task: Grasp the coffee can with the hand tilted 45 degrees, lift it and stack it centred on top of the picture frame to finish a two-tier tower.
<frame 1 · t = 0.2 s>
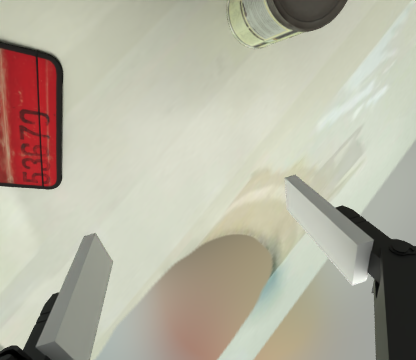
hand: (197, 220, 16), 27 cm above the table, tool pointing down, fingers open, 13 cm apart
coffee can: (256, 12, 36), on the table
binder: (5, 119, 35), on the table
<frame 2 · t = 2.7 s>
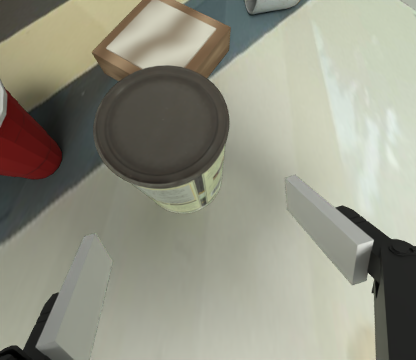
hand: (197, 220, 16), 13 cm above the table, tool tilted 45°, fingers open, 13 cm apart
coffee can: (183, 176, 31), on the table
plastic cup: (41, 160, 32), on the table
picture frame: (167, 61, 36), on the table
ceramic mug: (264, 1, 40), on the table
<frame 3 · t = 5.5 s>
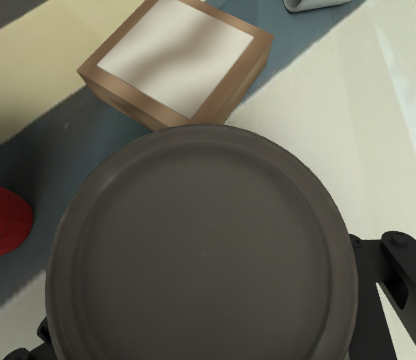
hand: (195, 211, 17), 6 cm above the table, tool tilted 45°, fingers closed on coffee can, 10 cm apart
coffee can: (208, 252, 21), on the table, touching gripper
plastic cup: (3, 225, 22), on the table
picture frame: (181, 81, 26), on the table
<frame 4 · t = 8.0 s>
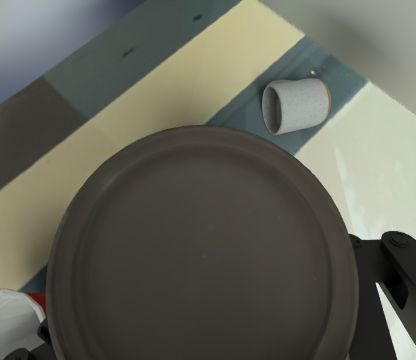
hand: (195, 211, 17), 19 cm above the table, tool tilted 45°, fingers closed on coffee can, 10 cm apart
coffee can: (208, 253, 21), point 13 cm above the table, touching gripper
plastic cup: (70, 315, 32), on the table
ceramic mug: (282, 113, 40), on the table
when the fingers open (11 cm above the table, at t = 11.0 s): coffee can drops 1 cm, resting on picture frame.
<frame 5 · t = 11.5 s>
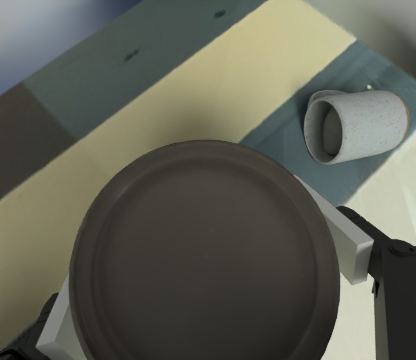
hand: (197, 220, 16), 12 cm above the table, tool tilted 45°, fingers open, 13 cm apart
coffee can: (209, 253, 22), point 4 cm above the table, touching picture frame
ceramic mug: (329, 133, 31), on the table
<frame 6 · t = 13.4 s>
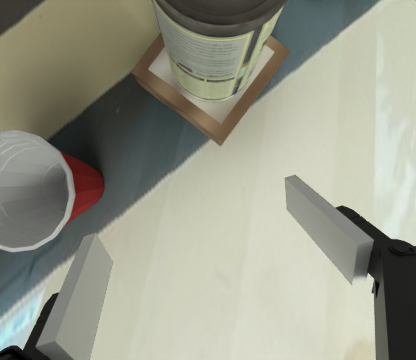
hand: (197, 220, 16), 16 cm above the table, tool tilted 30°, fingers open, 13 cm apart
coffee can: (211, 62, 28), point 4 cm above the table, touching picture frame
plastic cup: (83, 186, 32), on the table
picture frame: (210, 75, 32), on the table
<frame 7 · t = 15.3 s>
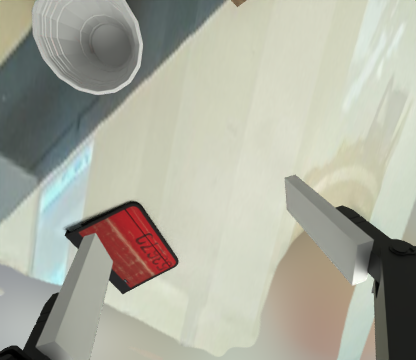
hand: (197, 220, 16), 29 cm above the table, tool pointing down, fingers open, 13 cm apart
plastic cup: (110, 46, 34), on the table
binder: (129, 245, 52), on the table
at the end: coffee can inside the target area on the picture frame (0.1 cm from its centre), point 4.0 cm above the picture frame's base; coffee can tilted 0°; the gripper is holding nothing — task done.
